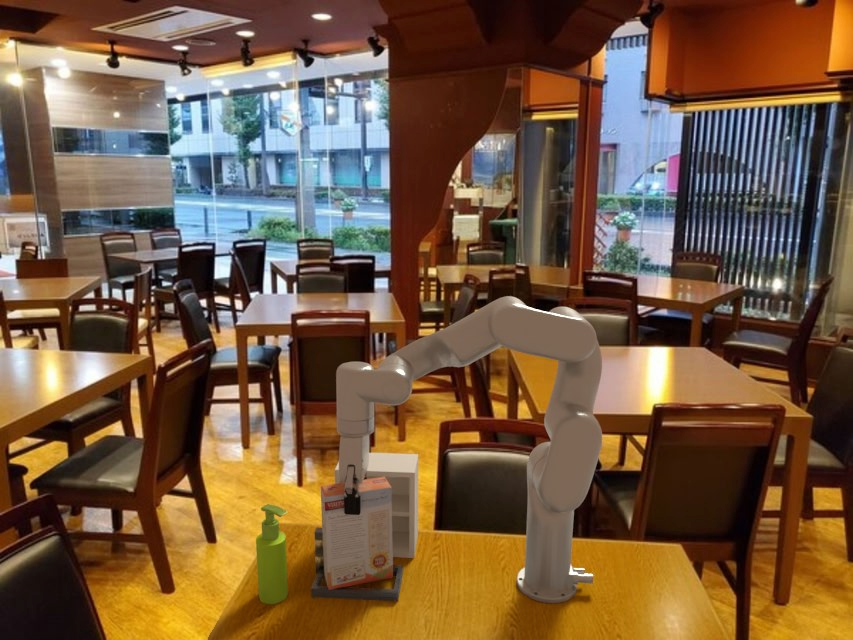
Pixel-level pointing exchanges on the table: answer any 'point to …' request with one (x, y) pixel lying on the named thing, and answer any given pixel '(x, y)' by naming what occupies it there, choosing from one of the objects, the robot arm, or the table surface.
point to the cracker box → (357, 534)
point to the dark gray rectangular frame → (350, 591)
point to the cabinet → (398, 496)
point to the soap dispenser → (272, 558)
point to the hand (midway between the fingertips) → (356, 503)
